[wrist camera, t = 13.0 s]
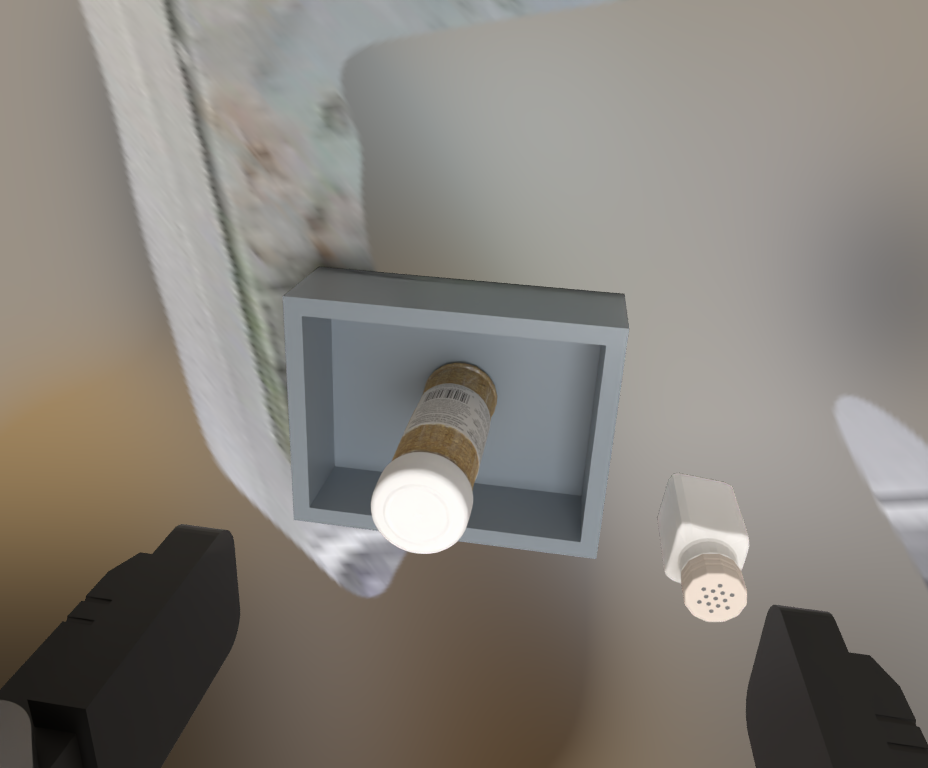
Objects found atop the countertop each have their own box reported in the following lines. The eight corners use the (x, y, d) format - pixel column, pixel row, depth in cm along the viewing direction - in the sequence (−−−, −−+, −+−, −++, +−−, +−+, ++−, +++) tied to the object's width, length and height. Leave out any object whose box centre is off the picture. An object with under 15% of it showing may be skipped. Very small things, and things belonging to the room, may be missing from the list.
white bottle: (716, 533, 49) (743, 636, 41) (654, 520, 50) (667, 620, 41) (734, 480, 48) (766, 575, 39) (669, 467, 48) (686, 559, 39)
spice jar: (417, 415, 48) (358, 540, 36) (435, 349, 46) (380, 458, 34) (487, 437, 48) (452, 570, 36) (508, 372, 46) (479, 490, 34)
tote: (319, 266, 46) (282, 296, 41) (624, 293, 44) (629, 328, 39) (325, 470, 52) (293, 519, 46) (595, 502, 50) (596, 558, 44)
